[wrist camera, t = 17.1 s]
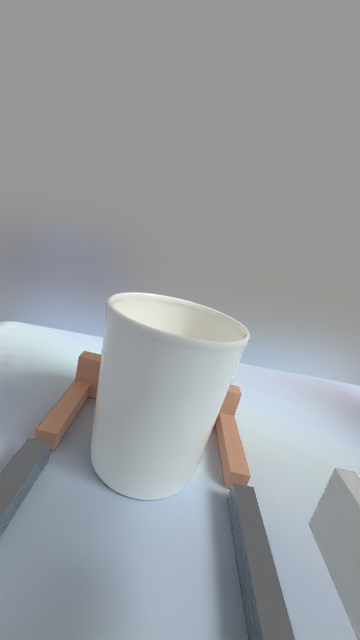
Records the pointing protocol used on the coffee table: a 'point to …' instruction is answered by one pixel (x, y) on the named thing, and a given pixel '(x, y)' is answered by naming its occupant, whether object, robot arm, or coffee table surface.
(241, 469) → the orange u-shaped bracket
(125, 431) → the candle holder
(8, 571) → the coffee table surface
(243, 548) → the guide rails
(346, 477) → the robot arm
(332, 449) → the coffee table surface
